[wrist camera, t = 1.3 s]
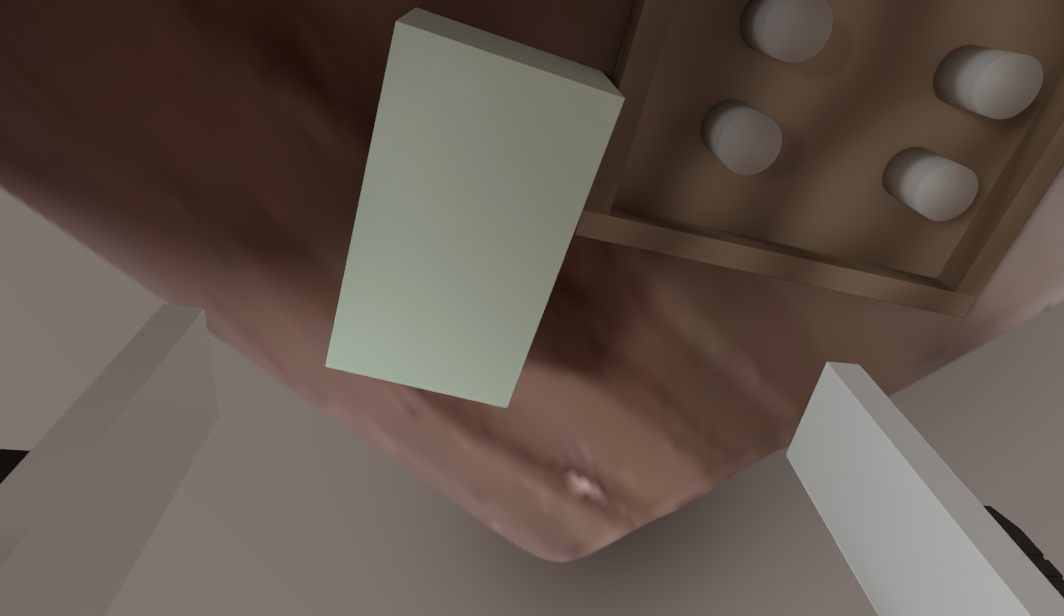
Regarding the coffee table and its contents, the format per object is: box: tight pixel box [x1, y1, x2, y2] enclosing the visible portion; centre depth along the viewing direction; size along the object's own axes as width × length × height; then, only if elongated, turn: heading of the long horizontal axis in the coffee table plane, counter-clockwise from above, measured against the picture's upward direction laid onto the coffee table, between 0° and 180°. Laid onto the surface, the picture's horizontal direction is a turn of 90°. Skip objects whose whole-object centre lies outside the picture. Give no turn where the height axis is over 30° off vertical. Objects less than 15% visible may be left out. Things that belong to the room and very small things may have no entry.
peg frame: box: [574, 0, 1064, 318], centre depth 26 cm, size 20×16×4 cm
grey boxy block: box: [325, 7, 625, 408], centre depth 27 cm, size 14×8×6 cm, turn 162°
